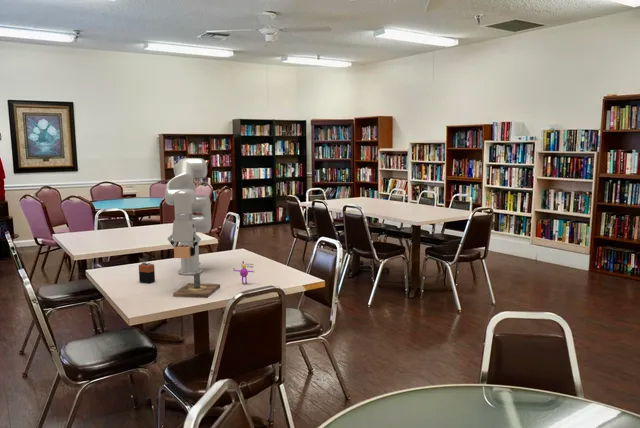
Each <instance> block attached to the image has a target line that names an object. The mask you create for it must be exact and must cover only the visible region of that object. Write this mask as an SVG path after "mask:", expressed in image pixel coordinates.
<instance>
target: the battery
mask: <svg viewBox="0 0 640 428" xmlns="http://www.w3.org/2000/svg"><path fill="white" fill-rule="evenodd" d="M155 272H156V271H155V264H154V263H152V262H151V263H150V262H148V263H147V262H146V261H143V262H141V264H138V277H139V278H138V280H139V283H142V284H149V285H150V284H152V283H156V276H155V275H156V273H155Z"/></svg>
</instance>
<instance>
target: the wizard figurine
mask: <svg viewBox="0 0 640 428" xmlns="http://www.w3.org/2000/svg"><path fill="white" fill-rule="evenodd" d="M240 265H241V269H236V270H235V269H233V270H232V271H233V272H239V274H240V276H241V284H245V285H248V280H247V276H248V274H249V273H255V270H248V269H247V268H254V265H253V263H250V265H248V264H247V263H245V262H244V260H242V261H241V263H240ZM244 279H245V281H244ZM244 282H245V283H244Z"/></svg>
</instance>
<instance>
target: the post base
mask: <svg viewBox="0 0 640 428" xmlns="http://www.w3.org/2000/svg"><path fill="white" fill-rule="evenodd" d="M220 288H221V284H220V283H201V273H199V274H198V273H196V274H194V275H193V283H191V282H189V283H187V284H185V285H184V286H182V287H180V288H179V289H178V290H175V291H174V292H173V293H172V294H173V295H172V297H175V298H202V299H203V298H204V299H206V298H208V297H210V296H211V295H212V294H213V293H215V292H216V291H217V290H219V289H220Z"/></svg>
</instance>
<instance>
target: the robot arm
mask: <svg viewBox="0 0 640 428" xmlns="http://www.w3.org/2000/svg"><path fill="white" fill-rule="evenodd" d="M173 174H174V177H172V178H171V179H169V181H168V182H166V186H165V191H164V202H165V203H166V204H167V205H168V206H174V220H173V222H172V223H173V224H172V233H171V234H170V236H168V237H167V241H168V242H169V243H170V245H172V247H173V248H174V247H176V246H179V245H191V248H190V254H191V256H193V257H191V258H189V259H185V258H180V268H181V269H179V270H178V274H179V275H183V276H191V275H193V276H194V274H196V273H198V274H202V273H203V269H202V268H200V265H201V262H200V253H199V252H200V251H199V250H200V249H199V243H200V242H201V240H202V238H201V237H200V236H199V235H197V233H207V232H210V231H211V230H212V229H211V228H212V212H211V208H212V207H211V199H210V197H209V196H208V195H206V194H197V186H196V184H195V183H194V179H198V178H199V179H203V178H205V177H207V175H208V166H207V161H205V159H204V158H200V157H198V158H197V157H196V158H195V157H194V158H193V157H184V158H181V159H179V160H178V161H177V162H176V163H175V164H174V165H173ZM193 213H201V214H193ZM194 255H195V256H194Z"/></svg>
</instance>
